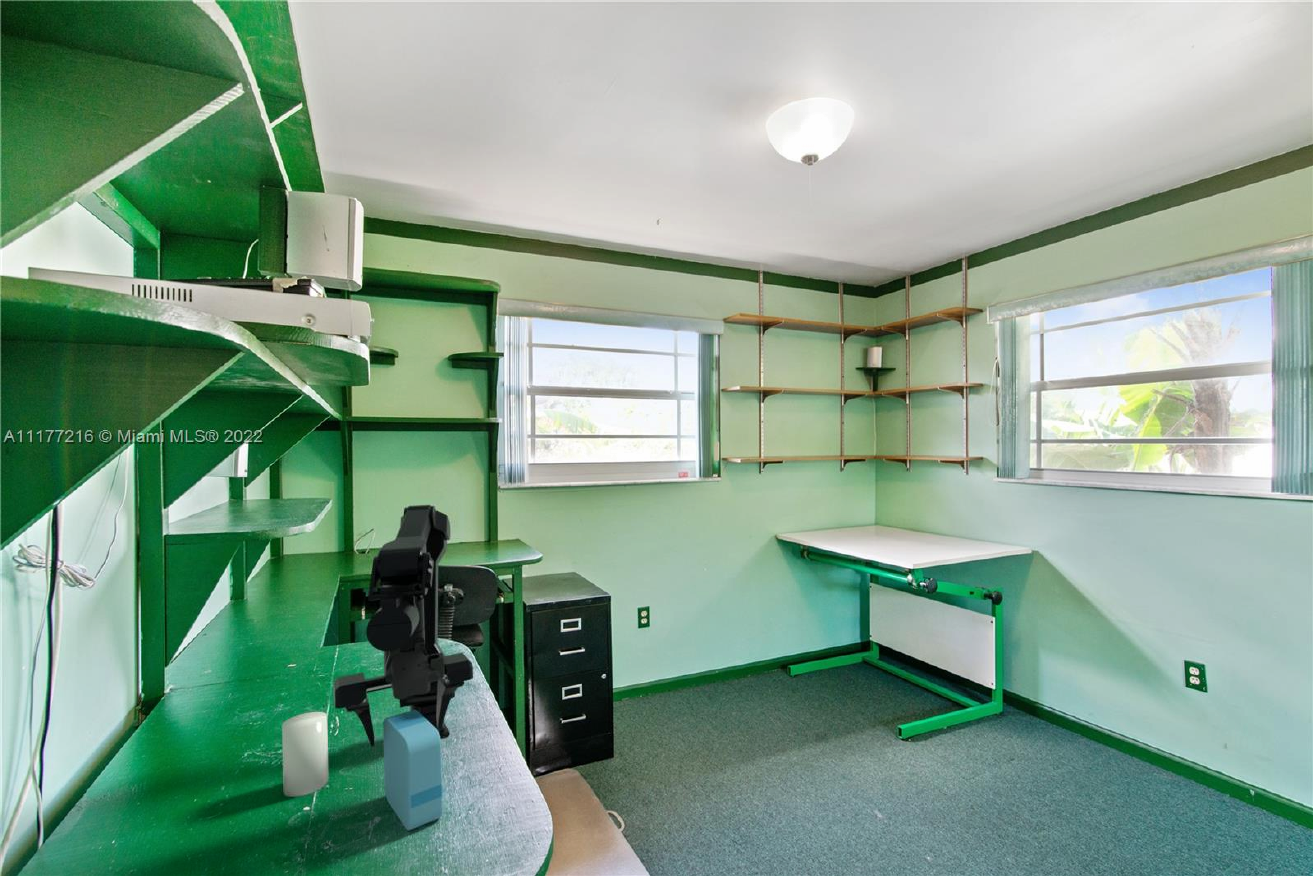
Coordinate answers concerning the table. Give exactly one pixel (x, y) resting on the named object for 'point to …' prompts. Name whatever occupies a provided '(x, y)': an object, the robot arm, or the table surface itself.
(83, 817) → the table surface
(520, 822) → the table surface
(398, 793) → the light blue rounded block
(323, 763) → the white rounded cylinder
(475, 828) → the table surface
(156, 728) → the table surface
